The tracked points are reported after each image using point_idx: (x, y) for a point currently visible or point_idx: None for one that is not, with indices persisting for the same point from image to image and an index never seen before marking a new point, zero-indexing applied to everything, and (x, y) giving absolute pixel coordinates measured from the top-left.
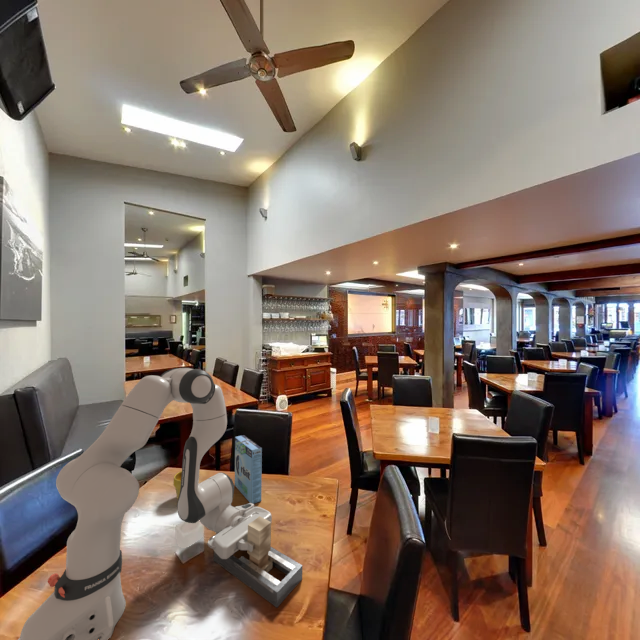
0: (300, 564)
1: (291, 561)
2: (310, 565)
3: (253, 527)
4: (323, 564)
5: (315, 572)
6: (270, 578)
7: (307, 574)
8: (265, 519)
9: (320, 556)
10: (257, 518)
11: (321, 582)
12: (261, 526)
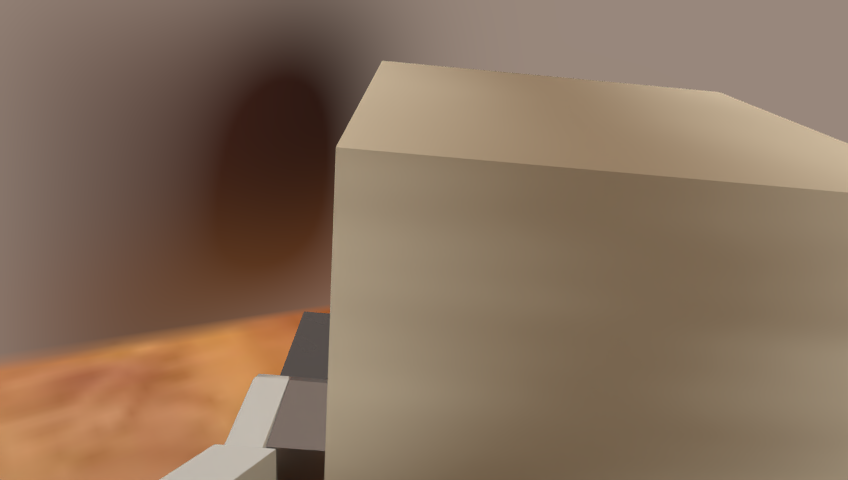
0: (302, 321)
1: (307, 372)
2: (147, 408)
3: (812, 134)
4: (112, 355)
5: (206, 367)
6: None
7: (245, 394)
8: (373, 91)
9: (22, 389)
10: (498, 156)
11: (271, 326)
12: (614, 93)
